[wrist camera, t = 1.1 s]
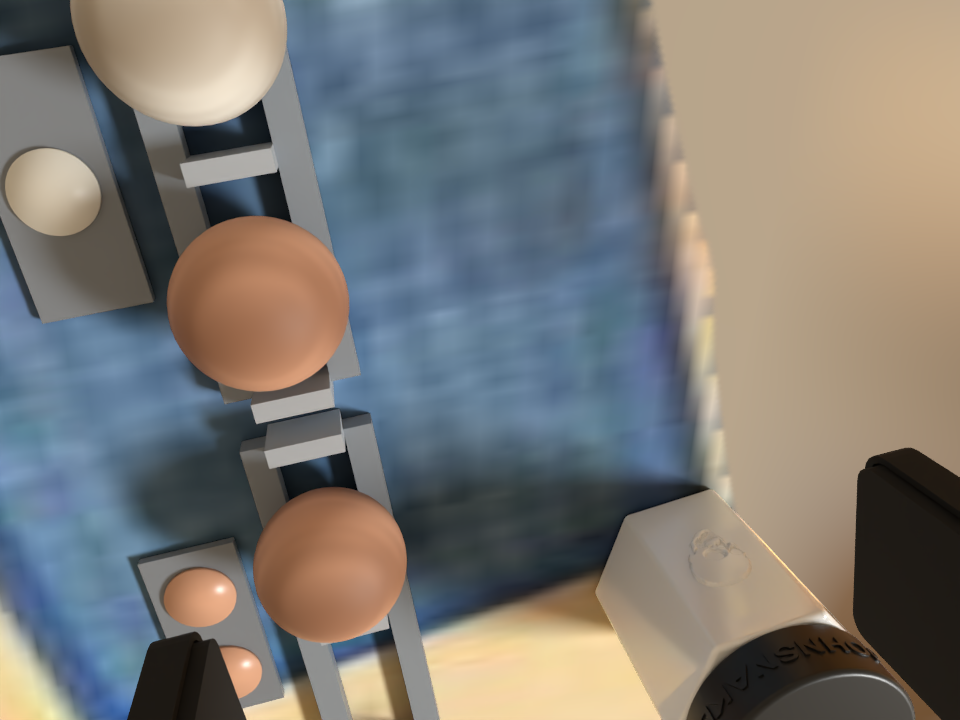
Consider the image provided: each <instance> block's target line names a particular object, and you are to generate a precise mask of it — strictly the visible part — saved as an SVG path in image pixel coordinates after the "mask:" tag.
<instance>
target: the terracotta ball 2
mask: <svg viewBox="0 0 960 720" xmlns="http://www.w3.org/2000/svg"><path fill="white" fill-rule="evenodd" d="M406 568H407V555H406V547H405V543H404V539H403V536H402V533H401V531H400V529H399V526H398V524H397V523H396V521H395V520H394V518H393V517H392V515H391V514H390V513H389V512H388V511H387V510H386V508H385V507H384V506H382V505H381V504H380V503H379V502H378V501H376V500H375V499H373V498H372V497H370V496H368V495H366V494H364V493H362V492H359V491H356V490H353V489H349V488H343V487H324V488H318V489H314V490H311V491H308V492H305V493H303V494H300V495H299V496H297V497H295V498H293V499H291V500H290V501H288V502H287V503H286V504H284V505H283V506H282V507H281V508H280V509H279V510H278V511H277V512H276V513H275V514H274V515H273V516H272V518H271V519H270V520H269V521H268V523H267V524H266V526H265V528H264V529H263V531H262V533H261V535H260V538H259V540H258V542H257V546H256V550H255V554H254V562H253V575H254V582H255V587H256V591H257V594H258V597H259V599H260V601H261V603H262V605H263V607H264V609H265V610H266V612H267V613H268V615H269V616H270V617H271V618H272V619H273V620H274V622H275V623H276V624H278V625H279V626H280V627H281V628H282V629H284V630H285V631H287V632H288V633H290V634H292V635H294V636H296V637H298V638H301V639H304V640H307V641H312V642H319V643H333V642H340V641H345V640H349V639H352V638H355V637H357V636H359V635H362V634H363V633H365V632H367V631H369V630H370V629H371V628H373V627H374V626H375V625H377V624H378V623H379V622H380V621H381V620H382V619H383V618H384V617H385V616H386V615H387V614H388V613H389V611H390V610H391V608H392V607H393V605H394V604H395V602H396V601H397V599H398V597H399V595H400V592H401V590H402V587H403V584H404V580H405V575H406Z"/></svg>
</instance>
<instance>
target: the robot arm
mask: <svg viewBox="0 0 960 720" xmlns="http://www.w3.org/2000/svg"><path fill="white" fill-rule="evenodd" d="M853 616H854V620H855V623H856V626H857V628H858V630H859V632H860V633H861V635H862V636H863V637H864V639H865V640H866V641H867V642H868V643H869V644H870V645H871V646H872V647H873V648H874V649H875V650H876V651H877V653H878V654H879V655H880V656H881V657H882V658H883V659H884V660H885V661H886V662H887V663H888V664H889V665H890V666H891V667H892V668H893V669H894V670H895V671H896V672H897V673H898V674H899V675H900V677H901V678H902V679H903V680H904V681H905V682H906V683H907V684H908V685H909V686H910V687H911V688H912V689H913V690H914V691H915V692H916V693H917V694H918V696H919V697H920V698H921V699H922V700H923V701H924V702H925V703H926V704H927V705H928V706H929V707H930V708H931V709H932V710H933V711H934V712H935V713H936V714H937V715H938V716H939V717H940V718H941V720H960V477H958V476H957V475H955V474H953V473H952V472H950V471H949V470H947V469H946V468H944V467H943V466H941V465H939V464H938V463H936V462H935V461H933V460H931V459H930V458H928V457H927V456H925V455H924V454H922V453H920V452H919V451H917V450H915V449H913V448H904V449H899V450H895V451H891V452H887V453H884V454H880V455H876V456H873V457H871V458H869V459H868V461H867V463H866V466H865V469H863V470H861V471H860V473H859V474H858V480H857V509H856V539H855V569H854V598H853ZM127 720H246V717H245V715H244V712H243V709H242V707H241V704H240V701H239V699H238V696H237V693H236V691H235V688H234V685H233V683H232V680H231V677H230V674H229V672H228V669H227V666H226V664H225V661H224V658H223V656H222V653H221V650H220V648H219V645H218V643H217V641H216V640H215V639H213V638H212V639H208V640H204V641H203V640H202V638H201V636H200V634H199V633H198V632H195V631H194V632H190V633H186V634H182V635H178V636H174V637H171V638H167V639H163V640H159V641H155V642H153V643H151V644H150V646H149V648H148V650H147V653H146V657H145V660H144V664H143V667H142V671H141V674H140V678H139V681H138V684H137V688H136V691H135V695H134V698H133V702H132V705H131V708H130V712H129V715H128V719H127Z"/></svg>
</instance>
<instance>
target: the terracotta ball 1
mask: <svg viewBox="0 0 960 720" xmlns="http://www.w3.org/2000/svg"><path fill="white" fill-rule="evenodd" d="M167 310H168V319H169V323H170V327H171V330H172V332H173V335H174V337H175V340H176V341H177V343H178V345H179V347H180V348H181V350H182V351H183V353H184V354H185V355H186V356H187V358H188V359H189V360H190V361H191V362H192V363H193V364H194V365H195V366H196V367H197V368H198V369H199V370H200V371H202V372H203V373H204V374H205V375H207V376H209V377H210V378H212V379H213V380H215V381H217V382H219V383H222V384H224V385H226V386H229V387H233V388H236V389H241V390H246V391H256V392H261V391H274V390H280V389H283V388H287V387H290V386H293V385H295V384H298V383H300V382H302V381H303V380H305V379H307V378H309V377H310V376H312V375H313V374H315V373H316V372H317V371H319V370H320V369H321V368H322V367H323V366H324V365H325V364H326V363H327V362H328V361H329V359H330V358H331V357H332V356H333V354H334V353H335V351H336V349H337V348H338V346H339V344H340V343H341V340H342V338H343V336H344V333H345V330H346V326H347V323H348V315H349V295H348V288H347V284H346V281H345V278H344V275H343V273H342V270H341V268H340V266H339V264H338V262H337V261H336V259H335V257H334V256H333V254H332V253H331V252H330V251H329V249H328V248H327V247H326V246H325V245H324V244H323V243H322V242H321V241H320V240H319V239H318V238H317V237H315V236H314V235H313V234H311V233H310V232H309V231H307V230H305V229H303V228H302V227H300V226H298V225H296V224H293V223H291V222H288V221H286V220H282V219H278V218H274V217H267V216H245V217H238V218H234V219H230V220H226V221H224V222H221V223H219V224H216V225H215V226H213V227H211V228H209V229H208V230H206V231H205V232H203V233H202V234H201V235H199V236H198V237H197V238H196V239H194V240H193V241H192V242H191V243H190V245H189V246H188V247H187V248H186V249H185V250H184V252H183V253H182V254H181V256H180V257H179V259H178V261H177V263H176V265H175V267H174V269H173V272H172V275H171V278H170V281H169V286H168V291H167Z"/></svg>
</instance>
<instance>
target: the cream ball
mask: <svg viewBox="0 0 960 720" xmlns="http://www.w3.org/2000/svg"><path fill="white" fill-rule="evenodd" d="M70 9H71V17H72V23H73V27H74V31H75V35H76V38H77V40H78V43H79V45H80V48H81V50H82V52H83V54H84V56H85V58H86V60H87V62H88V63H89V65H90V66H91V68H92V69H93V71H94V72H95V74H96V75H97V76H98V77H99V79H100V80H101V81H102V82H103V83H104V84H105V85H106V87H107V88H108V89H109V90H111V91H112V92H113V93H114V94H115V95H116V96H117V97H118V98H119V99H121V100H122V101H123V102H125V103H126V104H128V105H129V106H130V107H132V108H134V109H135V110H137V111H139V112H141V113H142V114H144V115H147V116H149V117H151V118H154V119H156V120H159V121H163V122H166V123H169V124H175V125H181V126H206V125H214V124H218V123H222V122H225V121H228V120H231V119H233V118H236V117H238V116H239V115H241V114H243V113H245V112H246V111H248V110H249V109H250V108H252V107H253V106H254V105H256V104H257V103H258V102H259V101H260V100H261V99H262V98H263V97H264V96H265V94H266V93H267V92H268V90H269V89H270V88H271V86H272V85H273V83H274V81H275V79H276V77H277V75H278V74H279V71H280V68H281V66H282V63H283V59H284V55H285V50H286V42H287V20H286V14H285V7H284V4H283V0H70Z"/></svg>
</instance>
